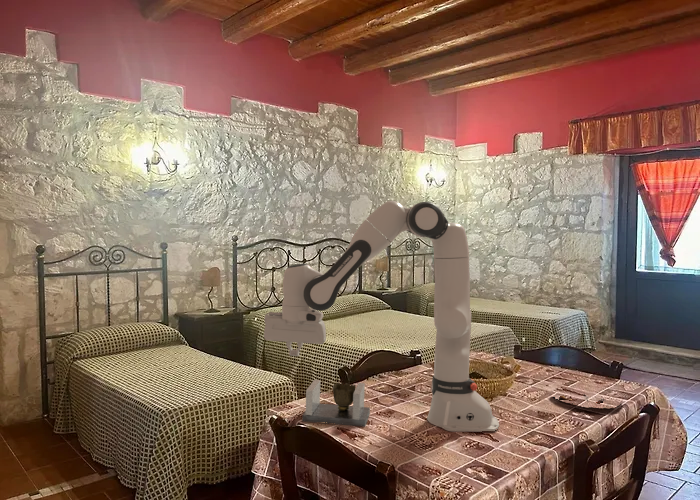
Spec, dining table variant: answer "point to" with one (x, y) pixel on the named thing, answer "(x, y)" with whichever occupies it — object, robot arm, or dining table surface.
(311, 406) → the sliding jaw
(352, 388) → the cup
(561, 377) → the dining table surface
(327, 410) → the vise
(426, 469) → the dining table surface
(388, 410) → the dining table surface
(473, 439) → the dining table surface
